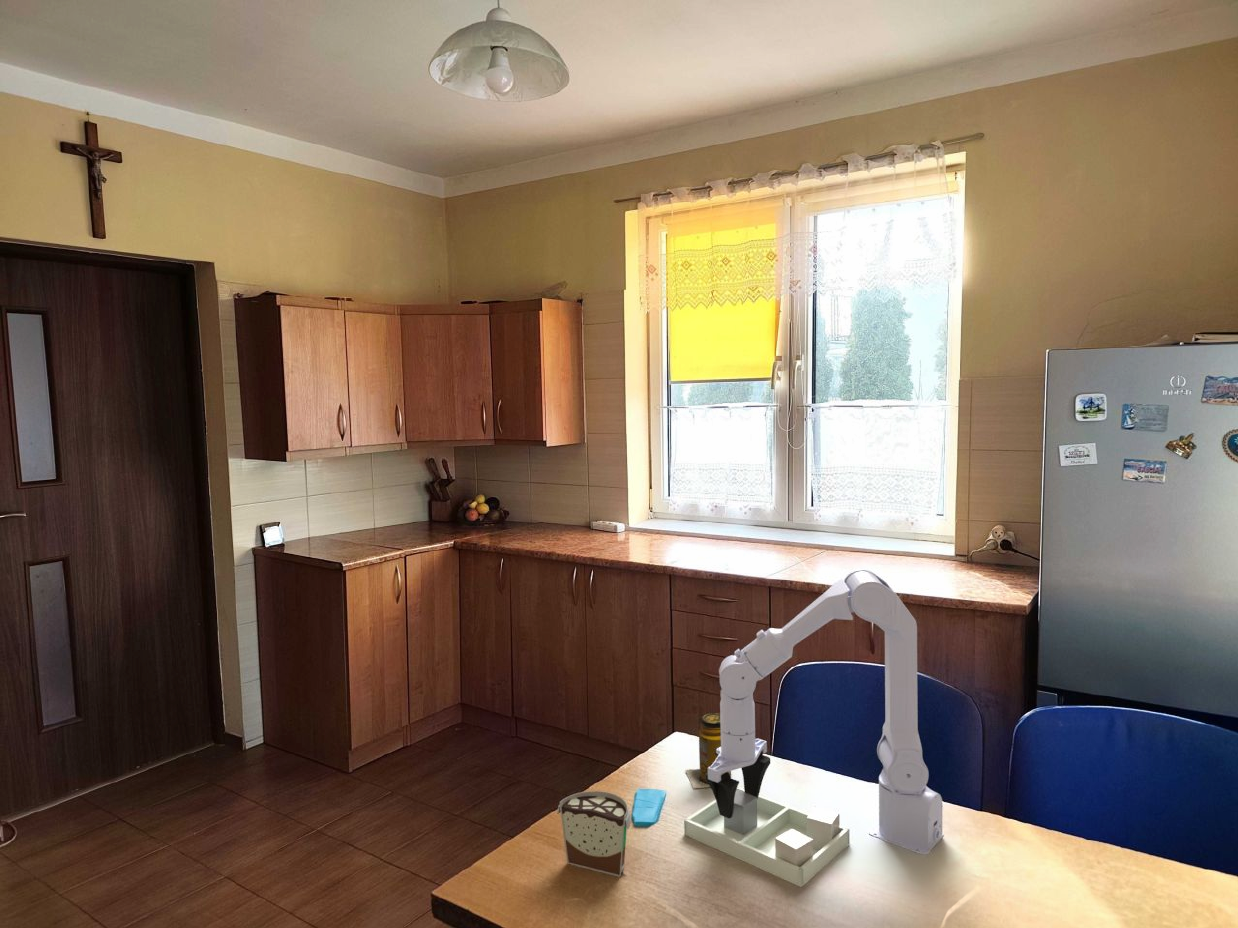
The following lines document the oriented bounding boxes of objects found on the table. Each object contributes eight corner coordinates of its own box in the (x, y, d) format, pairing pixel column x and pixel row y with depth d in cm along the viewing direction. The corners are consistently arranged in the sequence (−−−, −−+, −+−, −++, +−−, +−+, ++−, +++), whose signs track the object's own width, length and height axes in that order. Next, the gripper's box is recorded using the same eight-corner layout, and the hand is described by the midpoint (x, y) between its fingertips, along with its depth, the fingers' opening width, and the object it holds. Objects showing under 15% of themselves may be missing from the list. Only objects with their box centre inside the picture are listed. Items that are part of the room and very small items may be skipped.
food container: (645, 857, 127) (643, 797, 126) (629, 879, 121) (627, 816, 120) (577, 841, 132) (575, 783, 131) (559, 861, 126) (556, 801, 125)
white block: (813, 870, 121) (812, 839, 121) (796, 881, 119) (796, 849, 118) (792, 859, 124) (791, 828, 124) (775, 869, 122) (775, 837, 121)
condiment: (737, 785, 149) (736, 723, 148) (693, 789, 148) (692, 727, 147) (727, 767, 157) (726, 708, 156) (685, 771, 156) (683, 712, 155)
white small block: (839, 842, 128) (839, 812, 128) (831, 854, 125) (831, 823, 125) (815, 835, 131) (815, 806, 130) (807, 847, 127) (806, 817, 127)
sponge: (622, 821, 137) (655, 820, 135) (636, 787, 148) (666, 786, 147) (623, 829, 137) (656, 829, 135) (637, 795, 148) (667, 794, 147)
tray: (849, 846, 128) (849, 828, 128) (801, 889, 117) (801, 870, 117) (736, 802, 143) (736, 786, 143) (684, 837, 132) (684, 819, 132)
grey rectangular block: (757, 825, 134) (756, 797, 134) (743, 835, 131) (743, 806, 131) (737, 817, 137) (737, 789, 136) (724, 826, 134) (723, 798, 134)
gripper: (742, 709, 141) (743, 783, 142) (692, 736, 130) (693, 815, 131) (776, 719, 136) (777, 795, 137) (727, 748, 125) (729, 830, 127)
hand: (739, 806), depth 134 cm, fingers open, 7 cm apart
